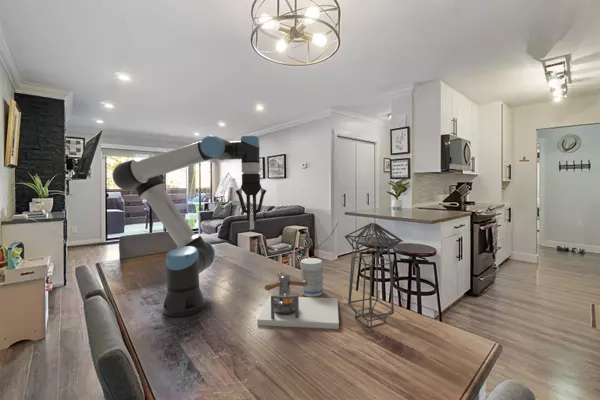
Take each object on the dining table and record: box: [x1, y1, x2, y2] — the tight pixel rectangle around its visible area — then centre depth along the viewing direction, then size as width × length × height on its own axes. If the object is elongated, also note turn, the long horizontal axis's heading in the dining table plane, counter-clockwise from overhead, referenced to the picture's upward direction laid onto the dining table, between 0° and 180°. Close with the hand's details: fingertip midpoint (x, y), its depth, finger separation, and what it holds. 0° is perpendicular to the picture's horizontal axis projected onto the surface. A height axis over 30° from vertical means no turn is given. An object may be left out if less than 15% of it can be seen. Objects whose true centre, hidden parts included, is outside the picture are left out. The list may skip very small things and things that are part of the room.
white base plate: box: [256, 293, 340, 330], centre depth 106 cm, size 28×20×10 cm
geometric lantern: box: [343, 222, 404, 328], centre depth 101 cm, size 16×16×35 cm
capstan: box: [264, 271, 308, 315], centre depth 108 cm, size 16×16×12 cm
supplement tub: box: [300, 257, 324, 298], centre depth 125 cm, size 10×10×15 cm
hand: (252, 228), depth 121 cm, fingers closed
